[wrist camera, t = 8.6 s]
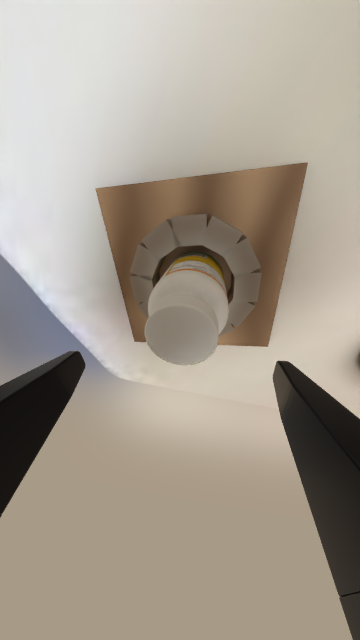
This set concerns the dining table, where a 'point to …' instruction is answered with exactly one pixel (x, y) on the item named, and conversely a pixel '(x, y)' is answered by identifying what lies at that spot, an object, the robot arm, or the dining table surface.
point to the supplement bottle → (187, 310)
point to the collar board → (227, 200)
